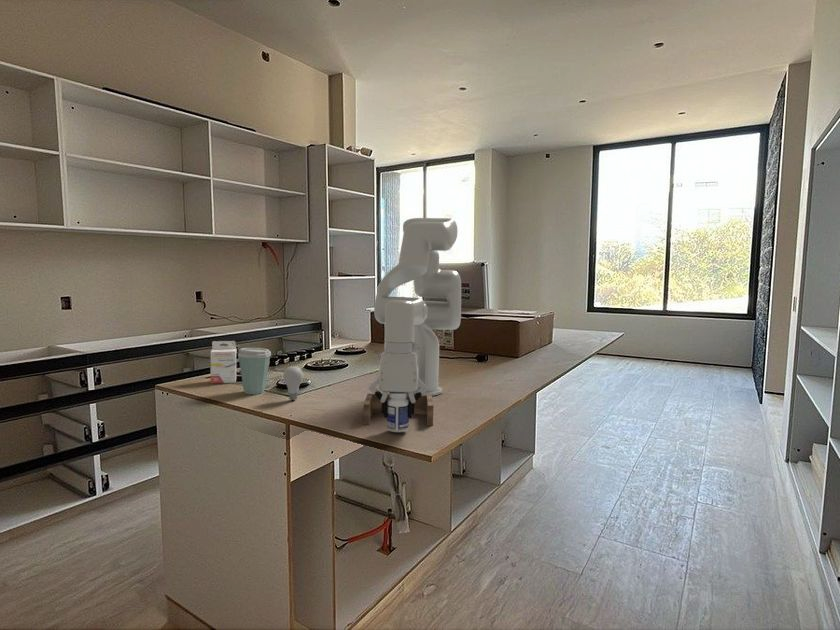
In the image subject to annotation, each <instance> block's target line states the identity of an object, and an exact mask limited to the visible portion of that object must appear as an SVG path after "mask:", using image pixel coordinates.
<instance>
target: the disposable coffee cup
mask: <svg viewBox="0 0 840 630" xmlns="http://www.w3.org/2000/svg"><path fill="white" fill-rule="evenodd" d="M271 356H272V352H271V351H270V349H268V348H262V347H243V348H240V349H239V351H238V353H237V357H238V360H239V361H238V363H239V368H240V375H241V382H242V387H243V391H244V394H247V395H251V394H253V395H260V394H259V393H261V394H263V392H264V391H265V389H266V385H267V379H268V372H269V365H270V359H271Z"/></svg>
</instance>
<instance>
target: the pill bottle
mask: <svg viewBox="0 0 840 630" xmlns="http://www.w3.org/2000/svg"><path fill="white" fill-rule="evenodd" d="M388 394H389V397H390V399H389V400H388V402H387V417H386V429H387V430H388V431H389V432H392V433H404V432H406V431H408V430H409V428H410V418H409V401H408V400H407V399H406V397H407V394H408V392H388Z"/></svg>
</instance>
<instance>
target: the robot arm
mask: <svg viewBox="0 0 840 630" xmlns="http://www.w3.org/2000/svg"><path fill="white" fill-rule="evenodd" d="M402 232H403V235H402V241H401V247H400V252H399V259H398V263H397V265H395V266H394V267H392V268H391V269H390V270H389V271H388V272H387V273H386V274H385V276H383V277H382V279H381V281H380V282H379V284H378V285H377V286H378V287H377V290H376V296H375V299H374V305H373V307H374V308H373V313H374V318H375V320H376V321H377V322H378V323H379V324H384V346H383V347H384V351H382V352H381V354H380V355H381V356H380V360H379V368H378V369H379V370H378V377H377V378H376V379H375V380H374V381H373V382H372V383H371V384H370V385H369V386H368V390H369V391H370V392H371V394H375V396H376V397H377V398H378V399H379V400H380V401H381V402H382V414H383V419H387V402H388V401H387V395H388V394H389V392H407V394H408V395H409V397H410V401H409V419H412V415H415V414H414V403H415V402H416V401H417V400H418V399H419V398H420V397H421V396H422V395H432V397H433V396H438V395H441V394H442V393H443V387H441V386H439V372H440V371H439V366H440V341H439V339H438V336H437V335H436V334H435V332H434V331H433V330H442V331H443V330H445V331H446V330H447V331H448V330H449V331H453V330H454V331H455V330H457V329H458V328H459V327H460V325H461V321H462V320H461V319H462V279H461V274H459V272H457V271H456V270H454V269H453V270H452V269H440V254H439V252H440V251H441V252H445V251H446V252H447V251H450V250H451V248H452V247H453V246H454V245H455V243H456V241H457V238H458V224H457V222H456V221H455V220H454V219H453V218H448V217H439V218H438V217H413V218H409V219H406V220H405V221H404V223H403V224H402ZM412 281H413V289H414V290H413V291H414V293H415V294H416V296H417V297H408V296H407V297H406V296H390V295H391V293H393V291H394V290H395V289H397V288H398V287H400V286H403V285H404V284H407V283H409V282H412ZM418 297H419V298H418ZM420 297H421V298H420ZM422 298H430V299H446V301H436V300H435V301H434V300H433V301H431V300H423V299H422ZM377 386H378V388H377ZM378 389H379V390H378Z"/></svg>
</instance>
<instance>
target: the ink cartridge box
mask: <svg viewBox="0 0 840 630" xmlns="http://www.w3.org/2000/svg"><path fill="white" fill-rule="evenodd" d="M223 344H224V345H223ZM211 345H212V346H211V348H212V349H211V350H210V384H211V385H212V384H234V383H236V382H237V349H236V347H237V346H236V341H235V340H218V341H215V340H213V341H212V342H211Z"/></svg>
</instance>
